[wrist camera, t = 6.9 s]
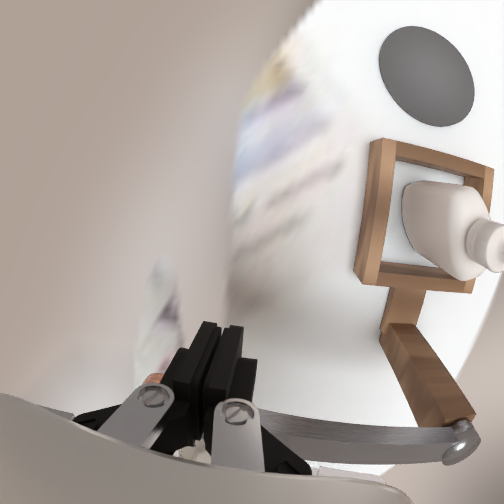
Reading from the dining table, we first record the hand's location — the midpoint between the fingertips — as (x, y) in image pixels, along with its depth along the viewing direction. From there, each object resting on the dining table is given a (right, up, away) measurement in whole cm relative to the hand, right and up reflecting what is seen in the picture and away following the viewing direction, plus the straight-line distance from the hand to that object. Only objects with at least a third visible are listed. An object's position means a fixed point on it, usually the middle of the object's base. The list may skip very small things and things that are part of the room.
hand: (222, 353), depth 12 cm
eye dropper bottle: (+15, +7, +9) cm, 19 cm away
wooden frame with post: (+14, +4, +10) cm, 18 cm away
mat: (+16, +19, +6) cm, 25 cm away
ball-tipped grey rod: (+5, -4, 0) cm, 6 cm away
